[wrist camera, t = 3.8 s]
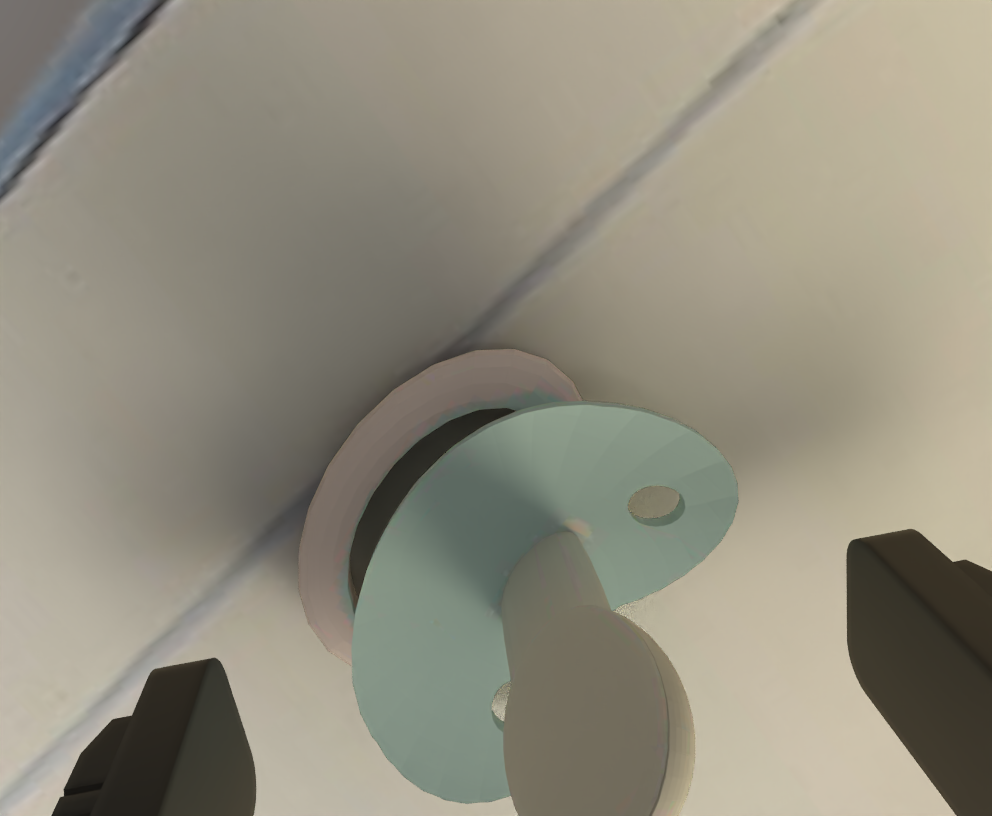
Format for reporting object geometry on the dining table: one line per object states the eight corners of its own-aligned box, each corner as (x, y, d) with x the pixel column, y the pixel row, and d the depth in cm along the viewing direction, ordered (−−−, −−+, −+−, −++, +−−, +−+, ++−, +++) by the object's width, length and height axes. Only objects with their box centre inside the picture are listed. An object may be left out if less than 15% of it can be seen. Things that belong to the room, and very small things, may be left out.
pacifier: (235, 614, 16) (522, 741, 17) (126, 927, 10) (576, 1079, 11) (442, 259, 14) (743, 434, 15) (459, 382, 8) (944, 646, 9)
